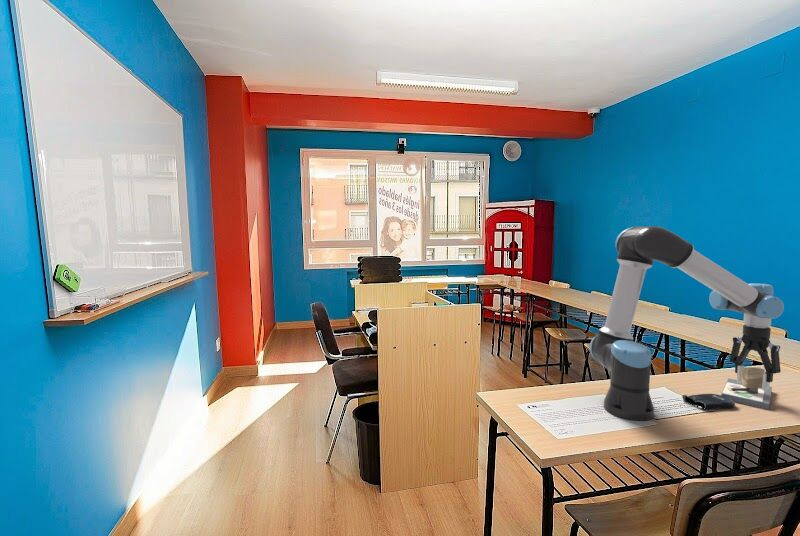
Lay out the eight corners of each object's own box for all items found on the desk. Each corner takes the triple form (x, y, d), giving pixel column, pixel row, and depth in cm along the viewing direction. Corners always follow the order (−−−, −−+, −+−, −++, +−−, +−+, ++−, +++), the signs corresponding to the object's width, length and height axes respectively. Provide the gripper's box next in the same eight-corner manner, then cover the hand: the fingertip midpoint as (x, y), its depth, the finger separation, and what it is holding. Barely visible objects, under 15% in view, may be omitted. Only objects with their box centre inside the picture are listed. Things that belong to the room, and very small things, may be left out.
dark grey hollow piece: (707, 417, 135) (742, 407, 138) (704, 401, 135) (739, 391, 138) (683, 409, 144) (716, 400, 147) (680, 394, 144) (713, 385, 147)
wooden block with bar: (764, 393, 145) (765, 369, 144) (735, 393, 145) (737, 369, 144) (756, 390, 148) (758, 367, 147) (728, 390, 148) (730, 366, 148)
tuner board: (768, 409, 137) (769, 403, 137) (721, 398, 146) (721, 392, 146) (771, 391, 152) (771, 385, 152) (728, 383, 162) (728, 377, 161)
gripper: (798, 331, 136) (793, 394, 138) (732, 319, 155) (728, 375, 157) (785, 332, 134) (780, 397, 136) (719, 320, 153) (716, 378, 155)
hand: (752, 385), depth 146 cm, fingers open, 7 cm apart
